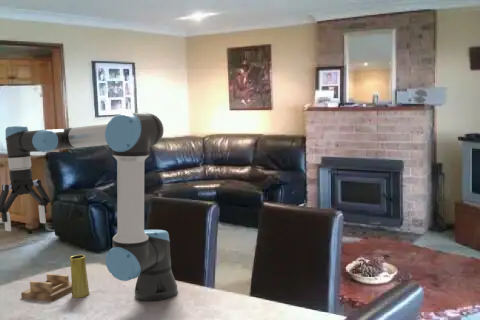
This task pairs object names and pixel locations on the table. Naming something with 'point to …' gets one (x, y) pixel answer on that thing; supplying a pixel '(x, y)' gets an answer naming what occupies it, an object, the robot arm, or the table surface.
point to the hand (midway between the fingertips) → (26, 226)
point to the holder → (49, 288)
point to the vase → (79, 276)
